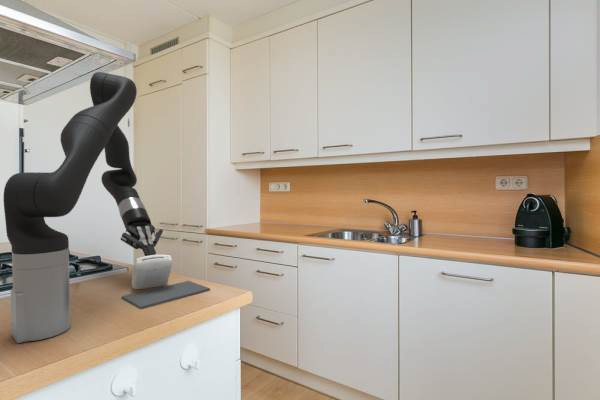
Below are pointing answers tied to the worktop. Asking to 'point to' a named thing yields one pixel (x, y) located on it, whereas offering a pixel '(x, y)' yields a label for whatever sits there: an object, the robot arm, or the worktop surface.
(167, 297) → the mat
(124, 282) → the worktop surface
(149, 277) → the photo printer
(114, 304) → the worktop surface
